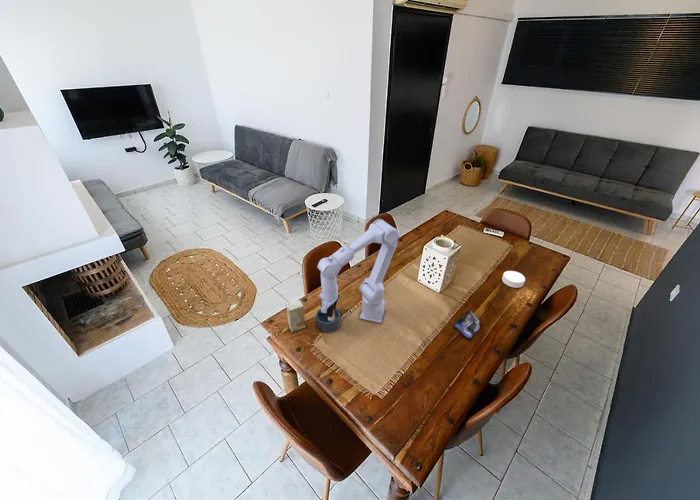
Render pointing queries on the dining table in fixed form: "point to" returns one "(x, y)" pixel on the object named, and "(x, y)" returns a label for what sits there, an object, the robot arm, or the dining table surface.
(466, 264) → the dining table surface
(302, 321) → the cosmetic box
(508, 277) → the white round disc
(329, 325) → the holder
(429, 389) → the dining table surface
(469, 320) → the snack package
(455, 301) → the dining table surface
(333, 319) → the dowel
